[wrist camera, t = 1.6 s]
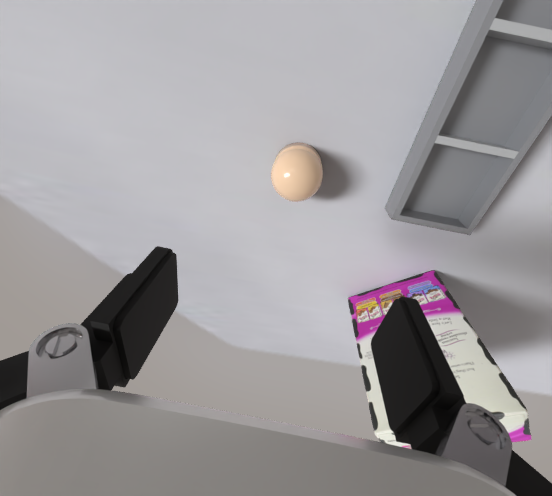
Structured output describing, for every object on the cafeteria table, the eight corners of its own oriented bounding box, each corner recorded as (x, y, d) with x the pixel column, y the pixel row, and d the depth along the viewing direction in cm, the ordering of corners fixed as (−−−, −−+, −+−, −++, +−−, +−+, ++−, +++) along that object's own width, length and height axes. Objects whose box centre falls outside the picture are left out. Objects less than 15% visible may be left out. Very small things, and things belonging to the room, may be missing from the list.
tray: (537, -140, 16) (574, -174, 13) (668, -111, 16) (726, -141, 14) (384, 208, 28) (391, 219, 26) (457, 222, 28) (470, 235, 26)
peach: (278, 137, 26) (273, 150, 21) (327, 147, 26) (331, 162, 21) (270, 185, 28) (264, 204, 24) (314, 193, 28) (316, 214, 24)
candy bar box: (359, 320, 38) (389, 458, 24) (346, 296, 36) (370, 434, 22) (444, 295, 34) (536, 445, 20) (435, 268, 32) (531, 413, 18)
